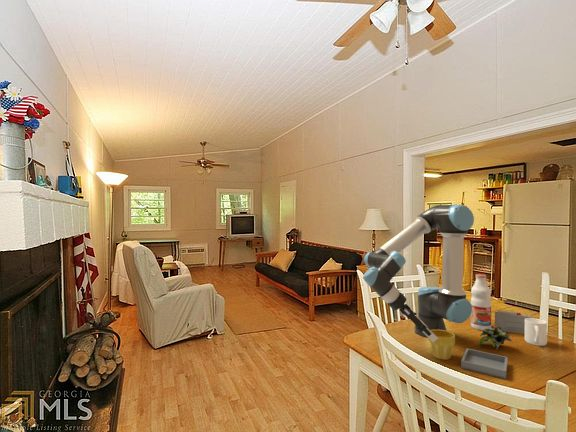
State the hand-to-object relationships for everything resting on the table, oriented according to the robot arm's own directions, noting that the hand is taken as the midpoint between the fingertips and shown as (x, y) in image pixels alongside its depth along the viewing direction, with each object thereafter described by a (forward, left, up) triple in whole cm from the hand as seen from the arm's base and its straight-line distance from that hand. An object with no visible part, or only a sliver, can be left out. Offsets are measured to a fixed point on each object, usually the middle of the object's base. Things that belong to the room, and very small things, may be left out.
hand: (429, 333), depth 139 cm
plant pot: (+4, +3, -10) cm, 11 cm away
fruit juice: (+14, +52, -10) cm, 55 cm away
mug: (+37, +42, -10) cm, 57 cm away
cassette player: (+28, +55, -10) cm, 62 cm away
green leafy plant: (+22, +27, -10) cm, 36 cm away
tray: (+20, +3, -10) cm, 22 cm away
